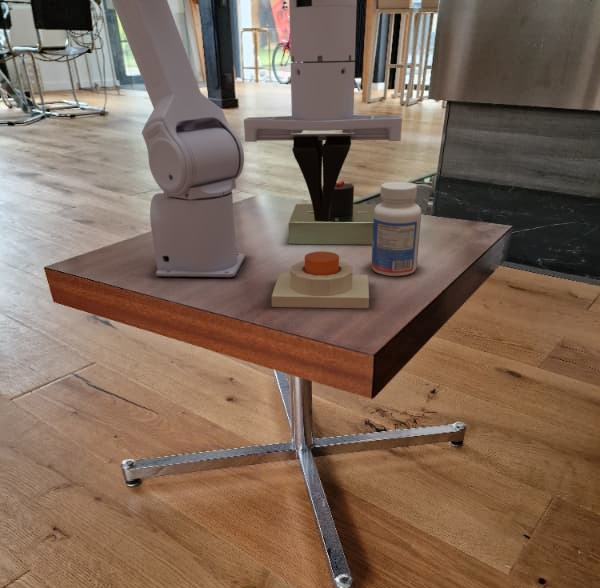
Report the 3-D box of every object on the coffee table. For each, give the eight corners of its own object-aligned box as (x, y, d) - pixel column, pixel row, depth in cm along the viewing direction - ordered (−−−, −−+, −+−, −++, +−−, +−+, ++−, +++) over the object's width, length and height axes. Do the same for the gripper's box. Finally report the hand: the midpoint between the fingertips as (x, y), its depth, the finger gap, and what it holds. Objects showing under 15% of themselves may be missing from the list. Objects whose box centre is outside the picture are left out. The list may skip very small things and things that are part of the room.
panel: (289, 244, 79) (288, 220, 77) (296, 223, 88) (295, 202, 86) (383, 244, 78) (385, 221, 76) (380, 224, 87) (381, 203, 85)
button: (303, 277, 59) (303, 261, 58) (306, 266, 62) (305, 251, 61) (338, 278, 59) (338, 261, 58) (339, 267, 62) (339, 251, 61)
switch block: (271, 307, 59) (270, 279, 57) (279, 283, 65) (278, 258, 63) (368, 308, 58) (370, 280, 57) (367, 285, 64) (368, 258, 63)
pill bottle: (382, 260, 72) (387, 178, 67) (422, 266, 69) (431, 182, 64) (363, 272, 68) (367, 187, 63) (405, 280, 65) (413, 191, 60)
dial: (348, 216, 79) (349, 187, 77) (318, 214, 80) (318, 185, 78) (356, 209, 82) (357, 181, 80) (327, 207, 84) (327, 179, 82)
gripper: (403, 60, 53) (393, 210, 60) (250, 63, 55) (258, 209, 62) (407, 61, 47) (395, 227, 54) (235, 64, 49) (245, 225, 56)
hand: (322, 219), depth 57 cm, fingers closed
